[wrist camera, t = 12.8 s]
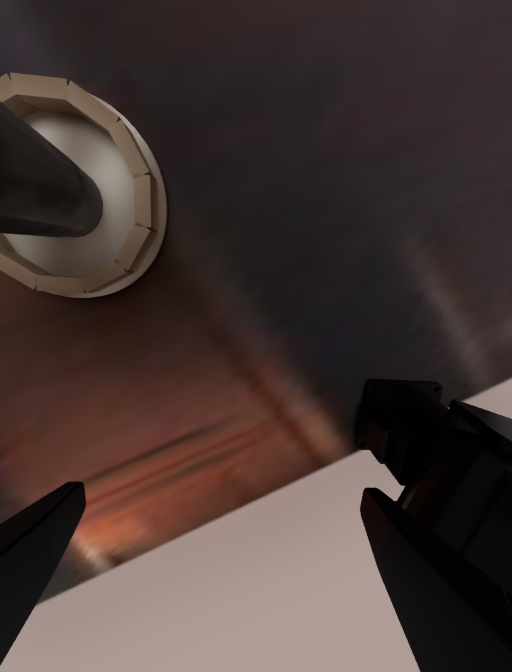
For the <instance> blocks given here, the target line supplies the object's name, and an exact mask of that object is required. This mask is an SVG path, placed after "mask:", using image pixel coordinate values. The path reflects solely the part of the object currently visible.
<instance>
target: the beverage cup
mask: <svg viewBox="0 0 512 672" xmlns="http://www.w3.org/2000/svg"><path fill="white" fill-rule="evenodd" d="M102 214H103V200H102V197H101V193H100V190H99V189H98V187H97V185H96V184H95V182H94V181H93V179H92V178H91V177H89V176H88V175H87V174H86V173H85V172H84V171H82V170H81V168H80V167H79V166H78V165H76V164H75V163H74V162H73V161H72V160H71V159H70V158H69V157H68V156H66V155H65V154H64V153H63V152H62V151H60V150H59V149H58V148H57V147H55V146H54V145H53V144H52V143H51V142H49V141H48V140H47V139H46V138H45V137H43V136H42V135H41V134H40V133H38V132H37V131H36V130H35V129H34V128H32V127H31V126H30V125H29V124H28V123H26V122H25V121H24V120H23V119H22V118H20V117H19V116H18V115H17V114H15V113H14V112H13V111H12V110H11V109H9V108H8V107H7V106H6V105H5V104H3V103H2V102H1V101H0V233H5V234H17V235H30V236H43V237H56V238H61V237H72V238H77V237H82V236H86V235H87V234H89V233H91V232H92V231H94V230H95V228H96V227H97V226H98V224H99V223H100V220H101V217H102Z"/></svg>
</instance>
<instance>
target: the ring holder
mask: <svg viewBox="0 0 512 672" xmlns="http://www.w3.org/2000/svg"><path fill="white" fill-rule="evenodd" d="M0 101H1V102H2V103H3V104H5V105H6V106H7V107H8V108H9V109H11V110H12V111H13V112H14V113H15V114H17V115H18V116H19V117H20V118H22V119H23V120H24V121H25V122H26V123H28V124H29V125H30V126H31V127H32V128H34V129H35V130H36V131H37V132H38V133H40V134H41V135H42V136H43V137H45V138H46V139H47V140H48V141H49V142H51V143H52V144H53V145H54V146H55V147H57V148H58V149H59V150H60V151H62V152H63V153H64V154H65V155H66V156H68V157H69V158H70V159H71V160H72V161H73V162H74V163H75V164H76V165H78V166H79V167H80V168H81V170H82V171H84V172H85V173H86V174H87V175H88V176H89V177H91V178H92V179H93V181H94V182H95V184H96V185H97V187H98V189H99V190H100V193H101V197H102V200H103V214H102V217H101V220H100V223H99V224H98V226H97V227H96V228H95V230H94V231H92V232H91V233H89V234H87V235H86V236H82V237H77V238H72V237H61V238H56V237H43V236H30V235H17V234H5V233H0V270H1V271H2V272H4V273H6V274H8V275H9V276H11V277H13V278H14V279H16V280H18V281H20V282H21V283H23V284H25V285H26V286H28V287H30V288H32V289H33V290H36V289H37V291H46V292H49V293H52V294H56V295H60V296H65V297H73V298H90V297H98V296H104V295H108V294H111V293H115V292H117V291H119V290H121V289H124V288H126V287H127V286H129V285H130V284H132V283H134V282H135V281H136V280H137V279H138V278H140V277H141V276H142V275H143V274H144V273H145V272H146V271H147V269H148V268H149V267H150V266H151V264H152V263H153V261H154V260H155V258H156V257H157V255H158V252H159V250H160V248H161V246H162V243H163V240H164V237H165V232H166V227H167V217H168V205H167V195H166V190H165V184H164V181H163V178H162V175H161V171H160V169H159V166H158V164H157V162H156V160H155V157H154V156H153V154H152V152H151V151H150V149H149V147H148V145H147V144H146V143H145V141H144V140H143V139H142V137H141V136H140V135H139V133H138V132H137V131H136V129H135V128H134V127H133V126H132V125H131V124H130V123H129V122H128V121H127V119H126V118H125V117H124V116H122V115H121V114H120V113H119V112H118V111H116V110H115V109H114V108H113V107H111V106H110V105H108V104H107V103H105V102H104V101H102V100H101V99H99V98H97V97H95V96H93V95H91V94H89V93H87V92H85V91H84V90H83V89H81V88H80V87H79V86H77V85H76V84H74V83H73V82H72V81H70V82H69V81H68V80H67V79H63V78H54V77H45V76H36V75H27V74H18V73H11V77H10V76H9V75H8V74H5V75H3V76H2V77H0Z"/></svg>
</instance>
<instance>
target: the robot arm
mask: <svg viewBox="0 0 512 672" xmlns="http://www.w3.org/2000/svg"><path fill="white" fill-rule="evenodd" d="M373 383H374V385H373V386H372V387H370V386H371V384H373ZM435 387H436V389H435V390H434V388H435ZM442 390H443V387H442V385H441V384H439V383H437V382H428V381H407V380H387V379H369V380H367V381H366V383H365V388H364V393H363V399H362V403H361V404H360V406H359V412H358V418H357V423H356V431H357V433H356V439H355V444H356V446H357V448H358V449H360V450H370V451H371V452H372V454H373V455H374V456H375V458H376V459H377V460H378V462H379V463H380V464H385V465H386V467H387V468H388V469H389V470H390V472H391V473H392V475H393V476H394V477H395V479H396V480H397V481H398V483H399V484H400V485H403V486H405V488H404V490H403V492H402V493H401V495H400V497H399V498H398V500H397V501H393V500H392V499H391V498H389V497H388V496H387V495H386V494H385V493H383V492H382V491H381V490H379V489H378V488H365V489H364V491H363V496H362V501H361V506H360V512H361V517H362V520H363V523H364V527H365V530H366V533H367V536H368V539H369V542H370V545H371V548H372V552H373V555H374V558H375V561H376V564H377V567H378V570H379V573H380V575H381V578H382V580H383V583H384V585H385V587H386V590H387V592H388V595H389V597H390V599H391V602H392V604H393V607H394V609H395V612H396V614H397V616H398V619H399V621H400V624H401V626H402V628H403V631H404V633H405V636H406V638H407V640H408V643H409V645H410V648H411V650H412V653H413V655H414V657H415V660H416V662H417V664H418V667H419V669H420V672H512V419H510V418H507V417H504V416H502V415H499V414H496V413H493V412H490V411H487V410H484V409H481V408H478V407H476V406H473V405H470V404H467V403H464V402H461V401H458V400H455V399H452V401H451V403H450V404H449V407H450V409H447V408H446V407H444V406H443V405H441V404H440V403H439V402H440V398H441V394H442ZM361 442H363V443H362V444H360V443H361ZM85 507H86V498H85V488H84V484H83V482H67V483H65V484H64V485H62V486H60V487H59V488H57V489H56V490H54V491H52V492H51V493H49V494H48V495H46V496H44V497H43V498H41V499H40V500H38V501H36V502H35V503H33V504H32V505H30V506H28V507H27V508H25V509H24V510H22V511H20V512H19V513H17V514H16V515H14V516H12V517H11V518H9V519H7V520H6V521H4V522H3V523H1V524H0V665H1V663H2V662H3V660H4V658H5V657H6V655H7V653H8V652H9V650H10V648H11V646H12V645H13V643H14V641H15V640H16V638H17V636H18V634H19V633H20V631H21V629H22V627H23V626H24V624H25V622H26V620H27V619H28V617H29V615H30V614H31V612H32V610H33V609H34V607H35V605H36V604H37V602H38V600H39V598H40V597H41V595H42V593H43V592H44V590H45V588H46V586H47V585H48V583H49V581H50V580H51V578H52V576H53V574H54V572H55V571H56V569H57V567H58V565H59V563H60V561H61V559H62V557H63V555H64V552H65V550H66V548H67V546H68V544H69V542H70V540H71V538H72V536H73V534H74V532H75V530H76V528H77V525H78V523H79V521H80V519H81V517H82V515H83V513H84V510H85Z"/></svg>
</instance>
